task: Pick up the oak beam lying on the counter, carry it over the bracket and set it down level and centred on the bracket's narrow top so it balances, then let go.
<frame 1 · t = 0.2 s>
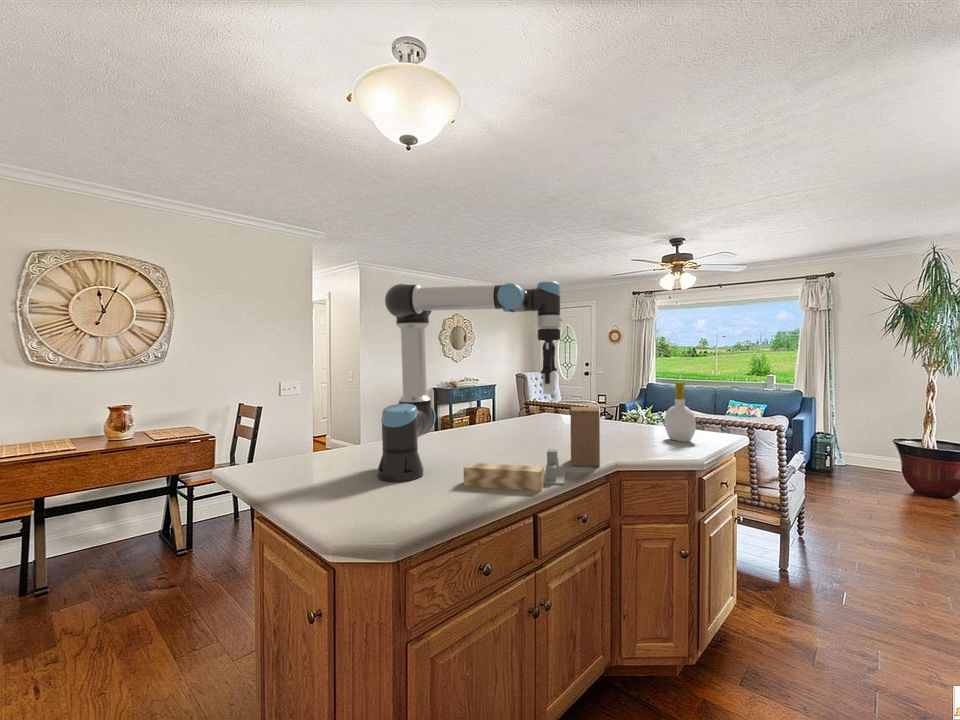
hand: (549, 391, 154), 27 cm above the countertop, fingers open, 13 cm apart
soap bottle: (680, 440, 205), on the countertop
wooden block: (584, 463, 167), on the countertop
beam: (503, 486, 142), on the countertop
bracket: (552, 477, 149), on the countertop
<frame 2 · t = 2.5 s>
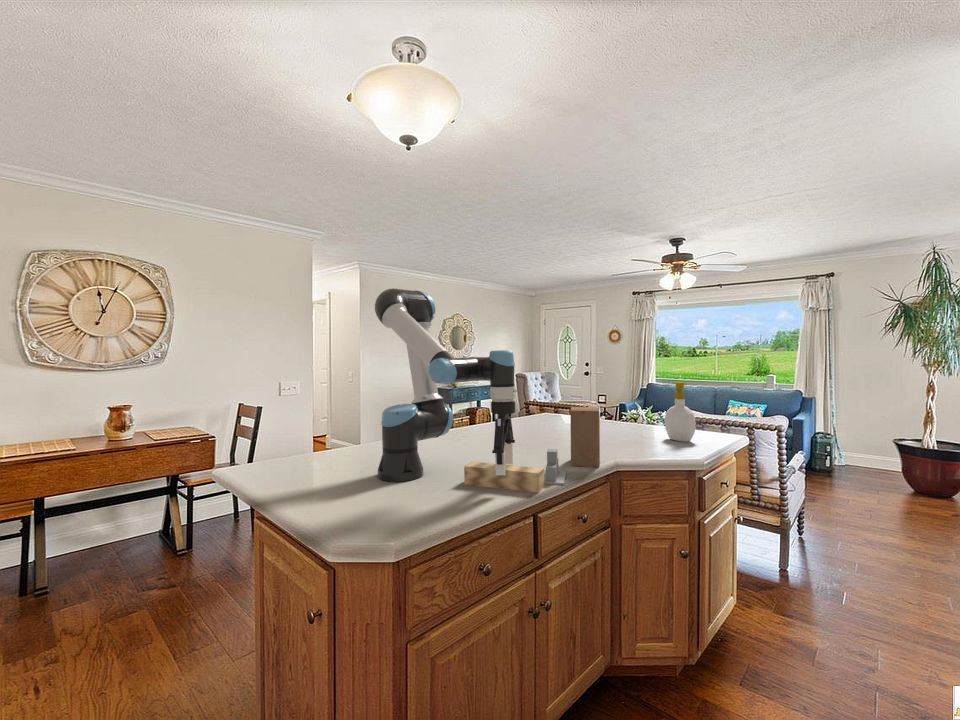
hand: (504, 469, 141), 5 cm above the countertop, fingers open, 13 cm apart
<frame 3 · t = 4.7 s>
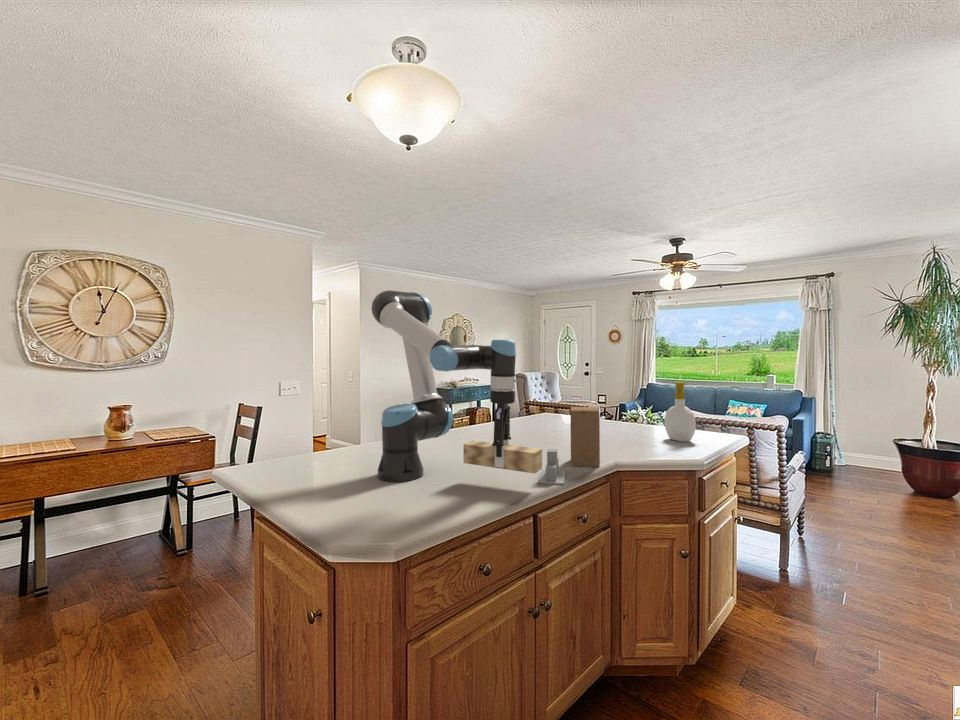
hand: (501, 463, 142), 7 cm above the countertop, fingers closed on beam, 7 cm apart
beam: (501, 465, 142), point 6 cm above the countertop, touching gripper
everything else where it was.
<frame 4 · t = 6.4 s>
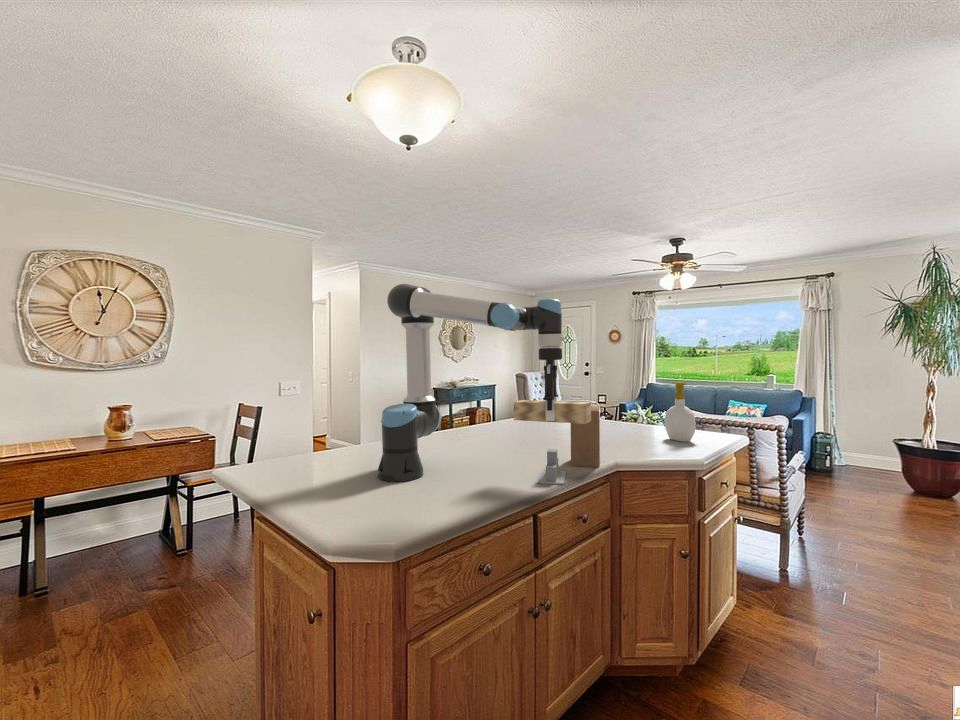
hand: (551, 418, 148), 19 cm above the countertop, fingers closed on beam, 7 cm apart
beam: (551, 420, 148), point 19 cm above the countertop, touching gripper
everything else where it was.
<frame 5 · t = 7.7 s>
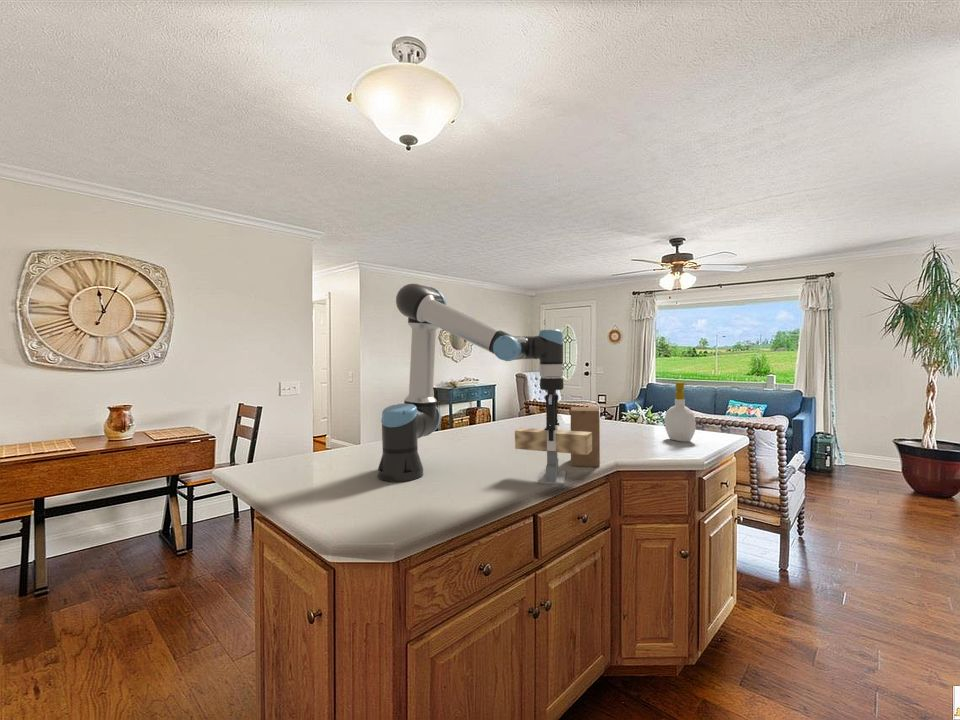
hand: (552, 447, 149), 10 cm above the countertop, fingers closed on beam, 7 cm apart
beam: (553, 449, 149), point 9 cm above the countertop, touching gripper
everything else where it was.
when the fingers open (9 cm above the countertop, at t = 8.3 s): beam stays where it is, resting on bracket.
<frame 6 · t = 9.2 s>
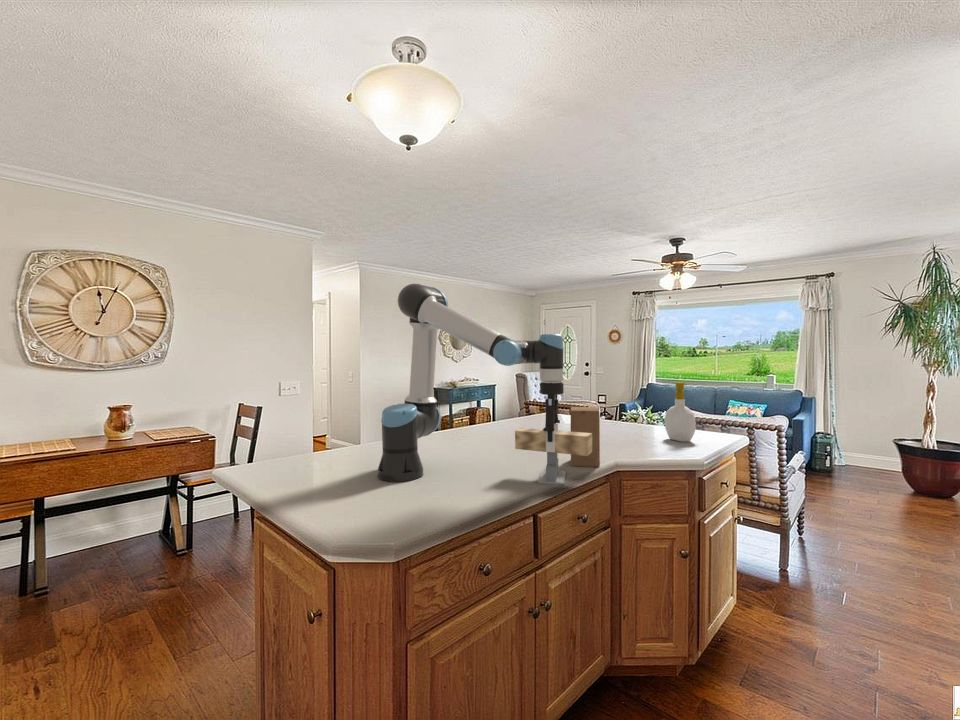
hand: (552, 447, 149), 10 cm above the countertop, fingers open, 13 cm apart
beam: (553, 450, 149), point 9 cm above the countertop, touching bracket
everything else where it was.
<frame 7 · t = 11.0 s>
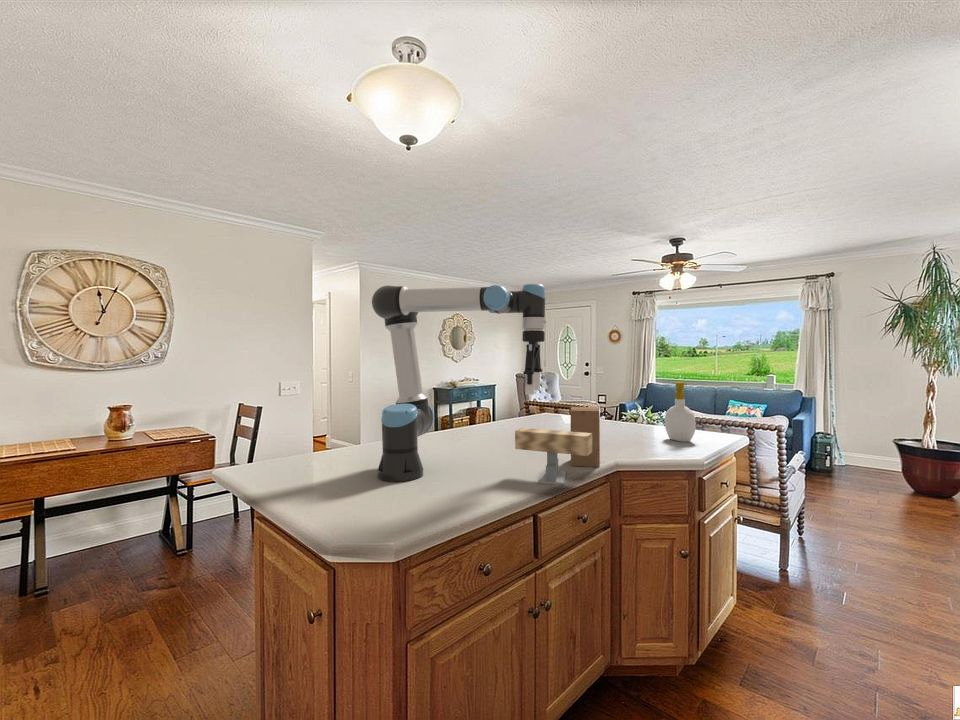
hand: (533, 392, 157), 27 cm above the countertop, fingers open, 13 cm apart
nothing on the countertop moved.
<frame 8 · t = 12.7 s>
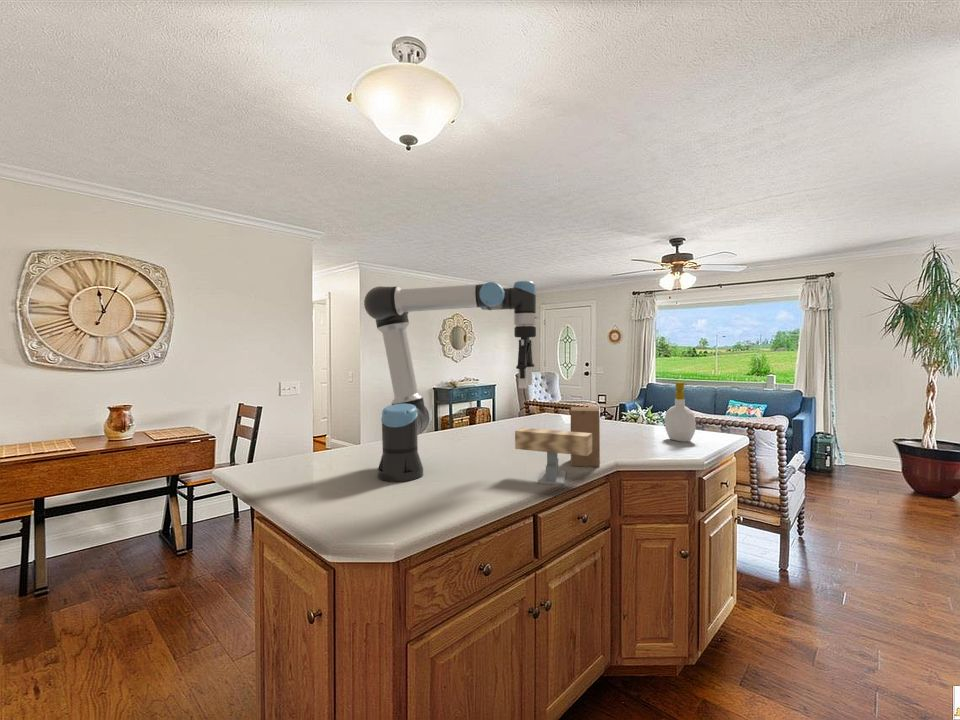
hand: (525, 386, 161), 29 cm above the countertop, fingers open, 13 cm apart
nothing on the countertop moved.
at the end: beam 0.3 cm off-centre on the bracket, point 9.0 cm above the bracket's base; beam tilted 0°; beam touching bracket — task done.
